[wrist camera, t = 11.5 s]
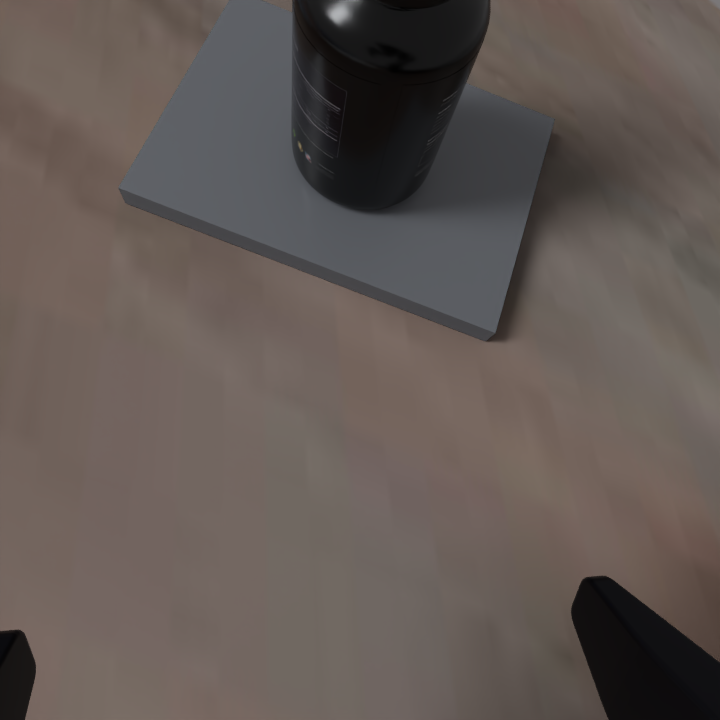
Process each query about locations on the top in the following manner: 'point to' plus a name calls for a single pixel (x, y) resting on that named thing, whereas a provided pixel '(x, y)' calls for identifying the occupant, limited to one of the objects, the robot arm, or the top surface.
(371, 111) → the supplement bottle
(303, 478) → the top surface
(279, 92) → the board
